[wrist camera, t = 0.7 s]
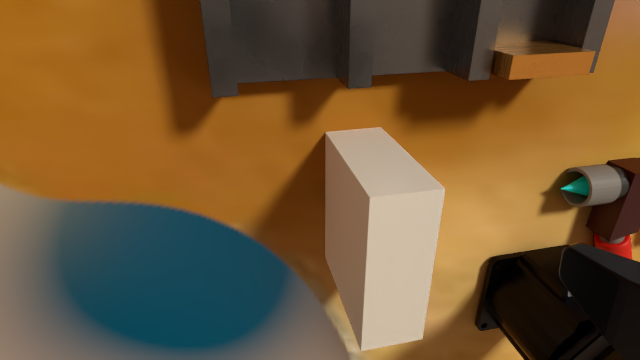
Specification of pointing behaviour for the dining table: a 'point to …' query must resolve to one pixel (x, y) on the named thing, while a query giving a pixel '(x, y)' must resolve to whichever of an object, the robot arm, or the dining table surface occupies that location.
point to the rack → (399, 39)
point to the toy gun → (609, 202)
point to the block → (380, 234)
